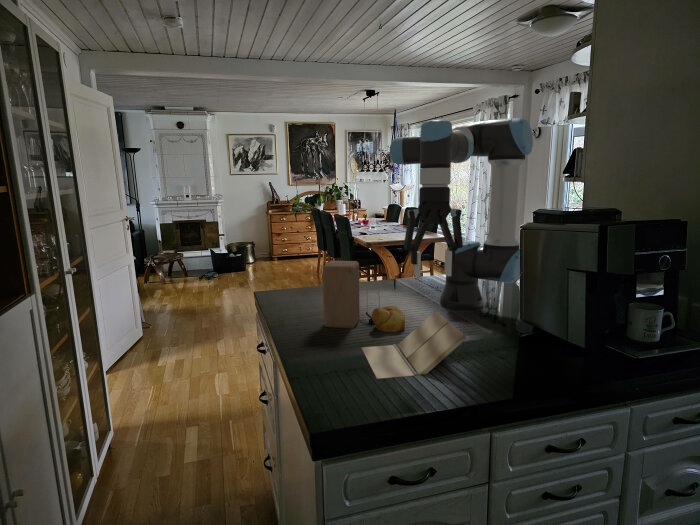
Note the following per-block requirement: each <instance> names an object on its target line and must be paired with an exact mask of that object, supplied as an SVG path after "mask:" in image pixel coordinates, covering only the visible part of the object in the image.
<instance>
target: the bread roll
mask: <svg viewBox="0 0 700 525" xmlns="http://www.w3.org/2000/svg"><path fill="white" fill-rule="evenodd" d="M371 319H372V321H373V323H374V325H375V329H377V330H378V331H380V332H387V333H397V332H401V331H403V329H405V326H406V318H405V314H404V312H403V310H401V309H400V308H398V306H393V305H389V306H384V307H382V308H381V307H377V308H374V309H373V310H372V312H371Z"/></svg>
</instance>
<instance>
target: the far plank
mask: <svg viewBox="0 0 700 525" xmlns="http://www.w3.org/2000/svg"><path fill="white" fill-rule="evenodd" d="M448 323H449V321H448V320H447V319H446V318H444V317H443V316H442V315H441V314H440V313H439V312H437V311H434V312H433V313H432V314H430V315H429V316H428V317H427V318H426V319H425V320H424V321H422V322H421V323H420V324H419V325H418V326H417V327H416V328H415V329H414V330H412V332H410V333H409V334H407V336H405V338H403V339H402V340H400V342H399V343H398V344H397V347H398V349H399V350H400V351H401V353H402V354H403V355H404V357H405V358H406V359H408V358H409V357H410V356H412V355H413V354H414V353H415V352H416V351H417V350H418V349H419V348H421V347H422V346H423V345H424V344H425V343H426V342H427V341H428V340H430V339H431V338H432V337H433V336H434V335H435V334H436V333H437V332H439V331H440V330H441V329H442V328H443V327H444V326H445V325H446V324H448Z"/></svg>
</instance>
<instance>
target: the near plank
mask: <svg viewBox="0 0 700 525" xmlns="http://www.w3.org/2000/svg"><path fill="white" fill-rule="evenodd" d="M448 322H449V321H448ZM465 340H467V336H466V335H465V334H464V333H463V332H462V331H460V330H459V328H457V327H456V326H454V325H453V324H452V323H451V322H449V323H448V324H446V325H445V326H444V327H443V328H442V329H441V330H440V331H439V332H437V333H436V334H435V335H434V336H433V337H432V338H431V339H430V340H428V341H427V342H426V343H425V344H424V345H423V346H422V347H421V348H419V349H418V350H417V351H416V352H415V353H414V354H413V355H412V356H410V357H409V358H407V361H408V362H409V364H410V365H411V366H412V368H413V369H414V371H415V372H416V373H417V375H419V376H421V375H427V374H428V373H429V372H431V371H432V370H433V369H434V368H435V367H436V366H437V365H439V363H441V362H442V361H443V360H444V359H445V358H446V357H447V356H449V355H450V354H451V353H452V352H453V351H454V350H455V349H456V348H457V347H459V346H460V345H461V344H462V343H463V342H464V341H465Z"/></svg>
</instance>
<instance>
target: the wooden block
mask: <svg viewBox="0 0 700 525" xmlns="http://www.w3.org/2000/svg"><path fill="white" fill-rule="evenodd" d="M322 288H323V289H322V291H323V292H322V294H323V298H322V299H323V324H324V327H325V328H335V329H337V328H339V329H354V328H355V327H356V325H357V323H358V321H359V320H360V263H359V261H357V260H330V261H328V262H327V263H326V264H324V265H323V266H322Z"/></svg>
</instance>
